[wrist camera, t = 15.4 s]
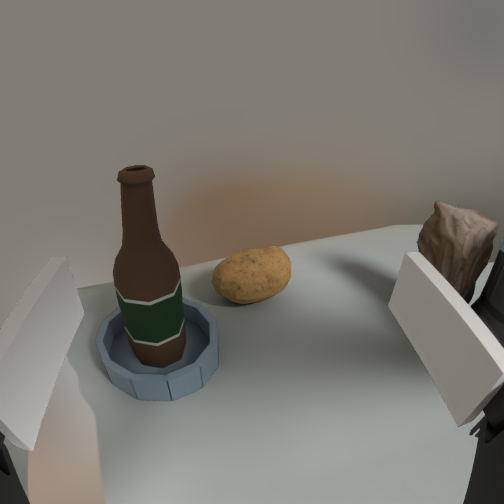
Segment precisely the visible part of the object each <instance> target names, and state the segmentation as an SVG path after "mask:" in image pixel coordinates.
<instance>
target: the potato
mask: <svg viewBox="0 0 504 504" xmlns="http://www.w3.org/2000/svg"><path fill="white" fill-rule="evenodd" d="M290 277H291V262H290V259H289V257H288V255H287V254H286V253H285V252H284V251H283V250H282V249H281V248H279V247H276V246H268V247H262V248H256V249H247V250H242V251H239V252H237V253H235V254H234V255H232V256H230V257H228V258H226V259H225V260H223V261H222V262H221V263H219V264H218V266H217V267H216V269H215V271H214V275H213V279H212V283H213V285H214V287H215V290H216V291H218V292H219V293H220V294H221V295H223V296H224V297H225V298H227V299H228V300H230V301H232V302H234V303H240V304H248V303H254V302H258V301H262V300H265V299H267V298H270V297H272V296H274V295H275V294H277V293H279V292H280V291H281V290H283V289H284V288H285V286H286V285H287V284H288V282H289V279H290Z"/></svg>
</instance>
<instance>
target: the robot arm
mask: <svg viewBox="0 0 504 504" xmlns="http://www.w3.org/2000/svg"><path fill="white" fill-rule="evenodd" d="M499 248H500V250H499V253H498V255H497V258H496V260H495V263H494V265H493V267H492V270H491V272H490V275H489V277H488V279H487V281H486V284H485V286H484V288H483V291H482V293H481V295H480V297H479V298H478V299H477V300H476V301H475V302H474V303H473V304H472V305H471V306H469V305H468V304H467V303H466V302H465V300H464V299H463V298H462V297H461V296H460V295H459V294H458V292H457V291H456V290H455V289H454V288H453V287H452V286H451V285H450V284H449V283H448V281H447V280H446V279H445V278H444V277H443V276H442V275H441V274H440V273H439V272H438V271H437V270H436V269H435V268H434V267H433V265H432V264H431V263H430V262H429V261H428V260H427V259H426V258H425V257H424V256H423V255H422V254H421V253H420V252H405V254H404V258H403V261H402V264H401V268H400V271H399V274H398V277H397V280H396V283H395V286H394V289H393V292H392V295H391V298H390V301H389V304H388V307H389V309H390V310H391V312H392V314H393V315H394V317H395V318H396V320H397V321H398V323H399V324H400V326H401V328H402V329H403V331H404V332H405V334H406V336H407V337H408V339H409V341H410V342H411V344H412V346H413V347H414V349H415V350H416V352H417V354H418V355H419V357H420V359H421V361H422V362H423V364H424V366H425V367H426V369H427V371H428V373H429V374H430V376H431V378H432V380H433V381H434V383H435V385H436V387H437V389H438V390H439V392H440V394H441V396H442V398H443V399H444V401H445V403H446V405H447V407H448V409H449V411H450V413H451V414H452V416H453V418H454V420H455V422H456V424H457V426H458V427H460V426H462V425H464V424H467V423H469V422H471V421H473V420H474V419H475V418H476V417H477V416H478V415H479V413H480V412H481V411H482V410H483V411H484V413H485V416H484V417H483V418H482V419H481V420H480V421H479V422H478V423H477V425H476V426H475V427H474V428H473V429H472V430H471V432H470V434H469V435H473V434H474V433H475V432H476V431H477V430H478V429H479V428H480V431H479V432H478V433H477V434H476V435H475V437H478V443H477V449H476V454H475V459H474V464H473V469H472V473H471V477H470V481H469V485H468V489H467V492H466V496H465V499H464V503H463V504H504V238H503V240H502V242H501V243H500V245H499ZM84 314H85V313H84V310H83V307H82V304H81V301H80V298H79V295H78V292H77V289H76V286H75V282H74V279H73V275H72V272H71V268H70V265H69V261H68V257H51V258H50V259H49V260H48V262H47V263H46V264H45V265H44V267H43V268H42V269H41V271H40V272H39V273H38V275H37V276H36V278H35V279H34V280H33V281H32V283H31V284H30V285H29V287H28V288H27V290H26V291H25V293H24V294H23V295H22V297H21V298H20V300H19V301H18V302H17V304H16V305H15V307H14V309H13V310H12V311H11V313H10V314H9V316H8V317H7V319H6V321H5V322H4V323H3V325H2V327H1V328H0V504H30V503H29V501H28V498H27V496H26V494H25V492H24V490H23V487H22V485H21V483H20V481H19V478H18V476H17V473H16V471H15V468H14V466H13V463H12V460H11V458H10V455H9V452H8V450H7V448H6V446H5V445H4V444H3V442H4V438H5V437H6V438H7V439H8V440H9V441H10V442H11V443H12V444H13V445H14V446H16V447H19V448H22V449H25V450H28V451H31V452H33V450H34V446H35V443H36V440H37V436H38V433H39V430H40V426H41V423H42V420H43V417H44V414H45V410H46V408H47V405H48V402H49V399H50V396H51V393H52V391H53V388H54V385H55V383H56V380H57V377H58V375H59V372H60V370H61V367H62V365H63V362H64V360H65V357H66V355H67V352H68V350H69V347H70V345H71V343H72V340H73V338H74V336H75V334H76V331H77V329H78V327H79V325H80V322H81V320H82V318H83V316H84Z"/></svg>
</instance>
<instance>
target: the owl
mask: <svg viewBox="0 0 504 504" xmlns="http://www.w3.org/2000/svg"><path fill="white" fill-rule="evenodd" d="M434 208H435V212H434V214H433V215H432V216H431V217H430V218H429V219H428V220H427V221H426V222H425V224H424V226H423V228H422V230H421V232H420V233H419V239H418V241H417V244H418V249H419V252H420V253H421V254H422V255H423V256H424V257H425V258H426V259H427V260H428V261H429V262H430V263H431V264H432V265H433V267H434V268H435V269H436V270H437V271H438V272H439V273H440V274H441V275H442V276H443V277H444V278H445V279H446V280H447V281H448V283H449V284H450V285H451V286H452V287H453V288H454V289H455V290H456V291H457V292H458V294H459V295H460V296H461V297H462V298H463V299H464V300H465V302H466V303H467V304H469V302H470V301H471V299H472V297H473V294H474V290H475V284H476V280H477V279H478V277H479V276H480V274H481V273H482V271H483V269H484V268H485V267H486V266H487V264H488V260H489V258H490V256H491V252H492V250H493V239H494V237H495V236H496V234H497V231H498V222H497V221H492V220H490V219H488V218H487V217H484V216H483V215H482V214H480V213H479V212H477V211H476V210H473V209H469V208H466V209H461V208H459V207H452V206H450V205H449V204H447V203H445V202H440V201H436V202H435V204H434Z"/></svg>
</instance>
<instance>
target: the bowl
mask: <svg viewBox="0 0 504 504" xmlns="http://www.w3.org/2000/svg"><path fill="white" fill-rule="evenodd" d="M182 300H183V310H184V319H185V329H186V345H185V349H184V352H183V355H182V358H181V360H179V361H177V362H175V363H173V364H171V365H169V366H167V367H165V368H158V367H152V366H146V365H142V364H141V363H140V361H139V360H138V358H137V357H136V355H135V354H134V352H133V351H132V349H131V346H130V344H129V341H128V337H127V334H126V330H125V326H124V322H123V319H122V315H121V311H120V307H118V308H117V309H116V310H115V311H114V312H112V313H111V314H110V315H109V316H107V317H106V318H105V319H104V321H103V322H102V324H101V327H100V330H99V333H98V336H97V338H96V345H97V348H98V350H99V353H100V355H101V358H102V360H103V363H104V365H105V368H106V370H107V373H108V375H109V377H110V380H111V382H112V384H113V385H114V386H116V387H118V388H119V389H121V390H122V391H124V392H126V393H127V394H129V395H131V396H132V397H134V398H136V399H138V400H153V401H171V399H172V400H173V401H174V400H176V399H178V398H181V397H183V396H185V395H187V394H190V393H192V392H194V391H196V390H198V389H201V388H202V387H203V386H204V385H205V384H206V382H207V381H208V379H209V378H210V377H211V375H212V374H213V372H214V371H215V370H216V368H217V367H218V364H219V357H218V332H217V321H216V320H215V319H214V318H213V317H212V316H211V315H210V313H209V312H208V311H207V310H206V309H205V308H204V307H203V306H202V305H201V304H198V303H196V302H193V301H190V300H187V299H184V298H182Z"/></svg>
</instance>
